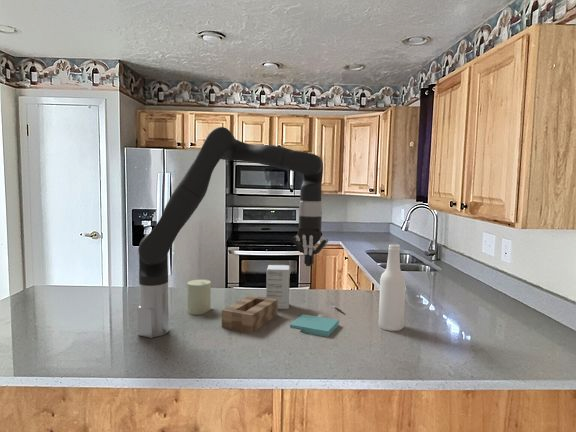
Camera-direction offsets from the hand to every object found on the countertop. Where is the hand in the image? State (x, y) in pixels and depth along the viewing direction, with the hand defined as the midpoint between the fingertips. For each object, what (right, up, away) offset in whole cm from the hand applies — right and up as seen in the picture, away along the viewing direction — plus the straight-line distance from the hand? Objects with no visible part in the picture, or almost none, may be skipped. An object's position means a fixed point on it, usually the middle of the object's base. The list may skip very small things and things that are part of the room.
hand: (309, 265), depth 134 cm
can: (-42, -21, +24) cm, 53 cm away
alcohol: (+30, -24, +9) cm, 39 cm away
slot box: (-21, -22, +11) cm, 32 cm away
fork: (+13, -22, +29) cm, 39 cm away
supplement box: (-11, -21, +30) cm, 38 cm away
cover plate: (-4, -22, +11) cm, 25 cm away
